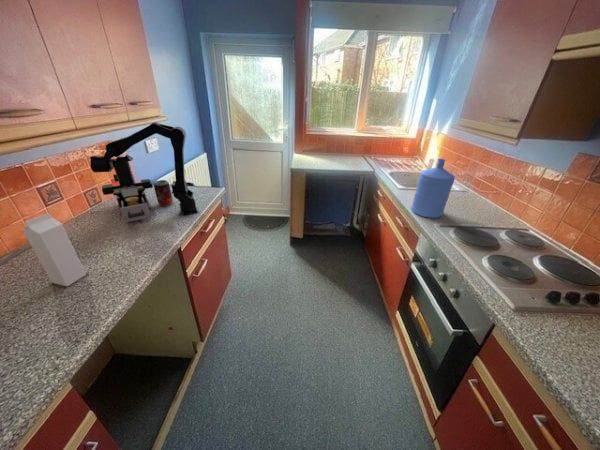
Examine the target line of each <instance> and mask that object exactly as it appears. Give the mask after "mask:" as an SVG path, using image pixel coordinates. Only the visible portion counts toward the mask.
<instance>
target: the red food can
mask: <svg viewBox="0 0 600 450" xmlns="http://www.w3.org/2000/svg"><path fill="white" fill-rule="evenodd" d="M152 185H153V188H154V192H155V196H156V200H157V203H158V204H159V205H160V206H161V207H167V206H168V207H169V206H171V205H172V204H173V194H172V189H171V187H170V182H169V181H167V180H165V179H160V180H156V181H154V182H153V183H152Z"/></svg>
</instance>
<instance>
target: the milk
mask: <svg viewBox="0 0 600 450" xmlns="http://www.w3.org/2000/svg"><path fill="white" fill-rule="evenodd" d="M24 224H25V225H26V227H25V228H24V229H23V230H22V232H23V234H24V236H25V237H26V238H25V239H27V241H28V243H29V245H30V246H31V249H32V250H33V251H34V253H35V255H36V257H37V258H38V261H39V262H40V264H41V265H42V267H43V269H44V271H45V272H46V274H47V276H48V278H49V279H50V281H51V283H52V284H55V285H58V286H63V287H69V286H71V285H73V284H74V283H76V282H77V281H78V280H80V279H82V278H83V277H85V276H86V275H87V273H86V271H85V269H84V267H83V265H82V263H81V261H80V259H79V256H78V255H77V253H76V250H75V248H74V247H73V244H72V242H71V240H70V238H69V236H68V233H67V231H66V229H65V228H64V225H63V223H61V222H60V221H58V220H57V219H55V218H54V217H52V215H51V213H50V212H47V213H45V214H41V215H39V216H36V217H34V218H33V217H32V218H31V219H28V220H25V222H24Z"/></svg>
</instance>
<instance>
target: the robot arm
mask: <svg viewBox="0 0 600 450" xmlns="http://www.w3.org/2000/svg"><path fill="white" fill-rule="evenodd" d="M156 134H157V135H159V136H161V137H164V138H167V139H170V144H171V147H172V149H173V160H174V161H173V162H174V174H175V176H174V177H175V181H174V180H173V181H172V183H171V195H172V196H173V197H174V198H175V199H176V200H178V202H179V203H178V205H179V210H180V212H181V214H183V215H184V216H187V215H191V214H197V213H198V209H197V205H196V200H195V198H194V194H195V193H194V192H193V191H191V190H190V189H189V187H188V183H187V180H186V173H185V172H186V171H185V153H184V149H185V143H186V137H187V133H186V131H185V129H183V127H181V126H171V125H167V124H163V123H159V122H157V121H155V122H152V123H150V124H149V125H147V126H145V127H144V128H141V129H140V130H138V131H136V132H133V133H132V134H130V135H128V136H126V137H125V136H124V137H121V138H118V139H114V140H112V141H110V142H108V143H106V145H105V153H104V154H103V155H90V157H89V158H90V161H89V163H90V164H89V166H90V169H91V171H92V172H93V173H111V172H112V171H113V170H114V171H115V172H114V173H115V174H114V173H113V174H112V176H113V179H114V182H116V183H117V182H118V184H119V185H113V183H108V184H103V185H102V186H101V191H102V194H103V196H107V195H113V196H116V195H117V196H118V197H119V198H120V199H121V200H122V201H123V202H124V203H125V204H126V206H127V202H126V201H125V198H124V196H123V194H122V192H121V190H122V189H129V188H135V187H137V192H138V198H139V203H141V197H142V193H143V191H144V192H145V191H146V190H147V189H152V188H154V185H153V182H152V180H151V179H149V178H146V179H145V178H144V179H141V180H140V182H135V179H134V176H133V171H132V169H131V166H130V163H129V162H132V161H133V160H134V157H132V156H130V155H129V154H125V153H126V152H127V151H128V150H130V149H131V148H132V147H133V146H135V145H136V144H138V143H141V142H142V141H144V140H146V139H148V138H149V137H152V136H153V135H156ZM123 154H125V155H124V156H123Z"/></svg>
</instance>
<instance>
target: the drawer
mask: <svg viewBox="0 0 600 450" xmlns="http://www.w3.org/2000/svg"><path fill="white" fill-rule="evenodd" d="M126 199H127V198H126ZM126 199H125V200H126ZM138 201H139V199H138ZM121 205H122V208H120V207H119V210H120V213H121V216H122V219H123V222H124V223H129V222H135V221H139V220H145V219H149V218H151V217H152V216H151V212H150V210H149V209H150V207H149V208H148V206H149V204H148V205H147V203H145V201H144V199H143V196H142V197H141V203H139V205H133V206H128V203H127V206H126V204H125V203H124V202H123V201H122V200H121Z"/></svg>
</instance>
